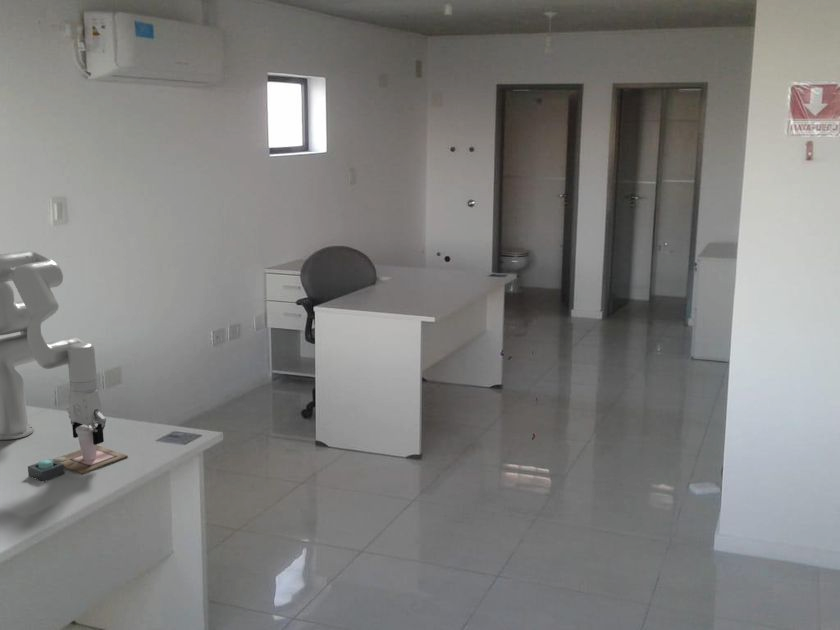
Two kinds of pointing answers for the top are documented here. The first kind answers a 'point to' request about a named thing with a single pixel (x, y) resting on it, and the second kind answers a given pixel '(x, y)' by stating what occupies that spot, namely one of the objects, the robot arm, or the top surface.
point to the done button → (45, 464)
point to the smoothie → (86, 442)
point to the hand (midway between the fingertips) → (88, 439)
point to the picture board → (82, 466)
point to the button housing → (46, 471)
